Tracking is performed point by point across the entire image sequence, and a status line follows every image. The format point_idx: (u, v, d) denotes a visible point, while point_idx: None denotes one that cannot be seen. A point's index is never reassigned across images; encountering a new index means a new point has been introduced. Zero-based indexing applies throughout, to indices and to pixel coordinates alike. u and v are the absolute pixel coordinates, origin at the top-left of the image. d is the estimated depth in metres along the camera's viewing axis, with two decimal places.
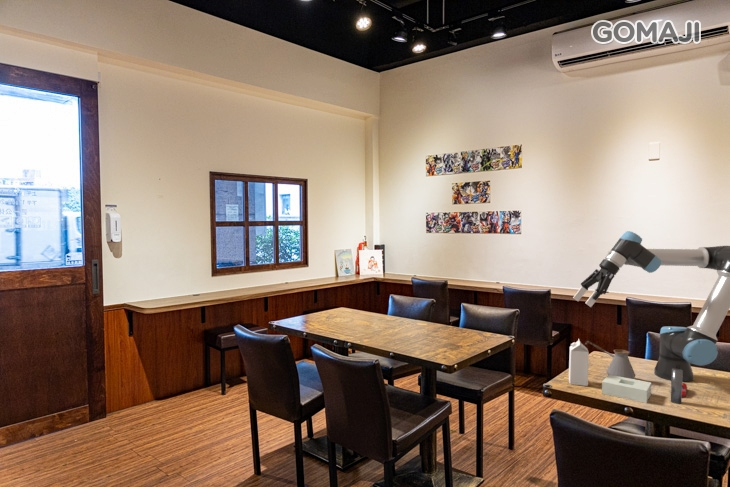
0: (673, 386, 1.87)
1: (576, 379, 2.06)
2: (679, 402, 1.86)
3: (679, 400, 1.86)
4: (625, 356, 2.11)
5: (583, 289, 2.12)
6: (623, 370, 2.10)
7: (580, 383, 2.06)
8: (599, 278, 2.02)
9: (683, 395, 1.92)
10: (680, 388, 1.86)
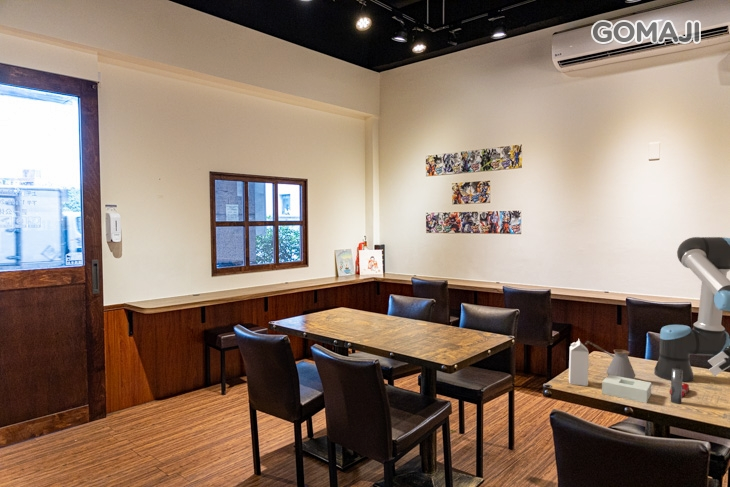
0: (673, 386, 1.87)
1: (576, 379, 2.06)
2: (679, 402, 1.86)
3: (679, 400, 1.86)
4: (625, 356, 2.11)
5: None
6: (623, 370, 2.10)
7: (580, 383, 2.06)
8: None
9: None
10: (680, 388, 1.86)
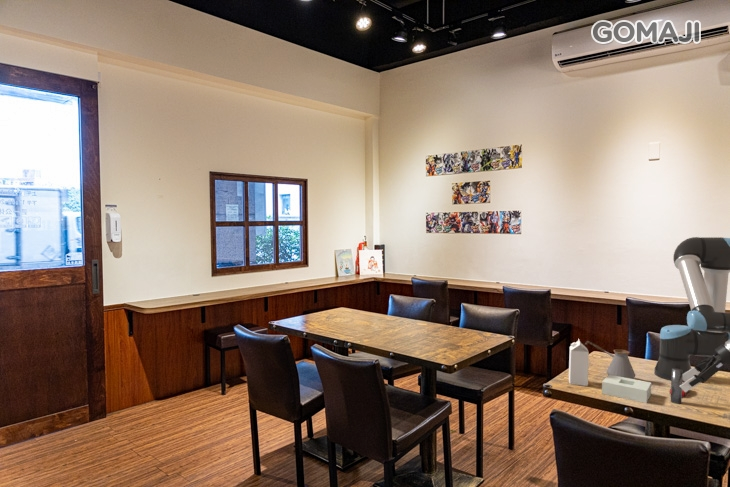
0: (673, 386, 1.87)
1: (576, 379, 2.06)
2: (679, 402, 1.86)
3: (679, 400, 1.86)
4: (625, 356, 2.11)
5: None
6: (623, 370, 2.10)
7: (580, 383, 2.06)
8: None
9: None
10: (680, 388, 1.86)
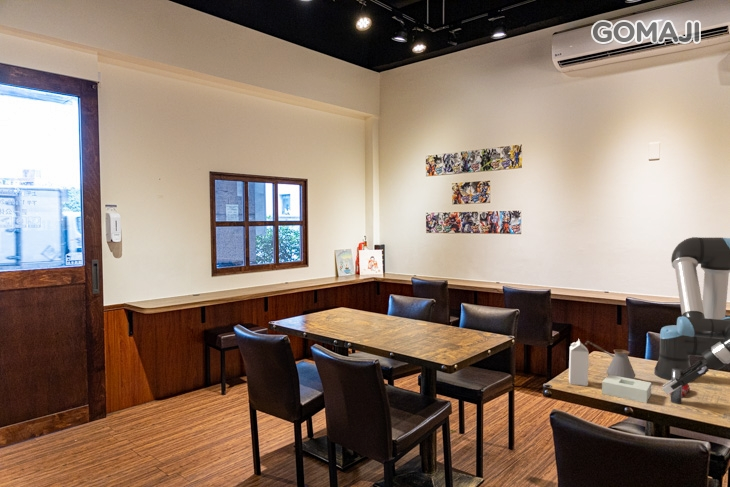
0: None
1: (576, 379, 2.06)
2: (679, 402, 1.86)
3: (679, 400, 1.86)
4: (625, 356, 2.11)
5: None
6: (623, 370, 2.10)
7: (580, 383, 2.06)
8: None
9: None
10: (680, 388, 1.86)
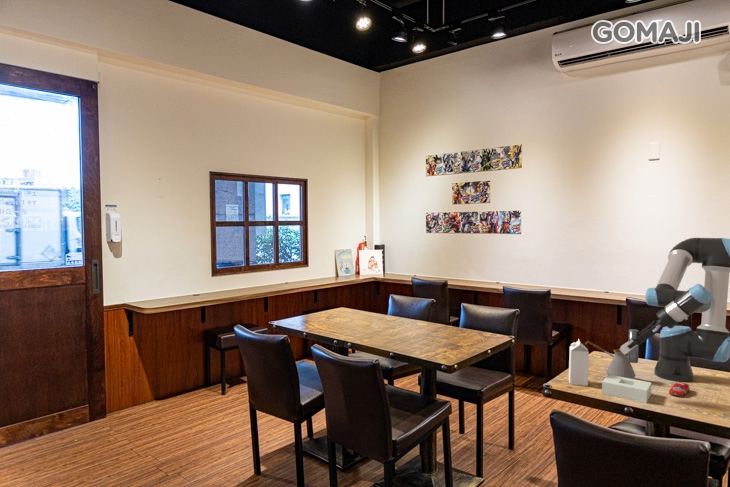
0: None
1: (576, 379, 2.06)
2: (636, 361, 1.92)
3: (636, 359, 1.92)
4: (625, 356, 2.11)
5: None
6: (623, 370, 2.10)
7: (580, 383, 2.06)
8: None
9: (681, 395, 1.93)
10: (636, 348, 1.92)
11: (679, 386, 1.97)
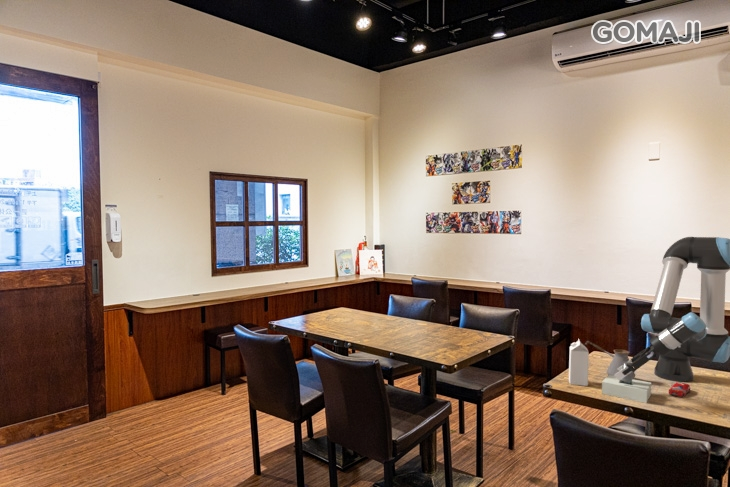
0: (623, 379, 1.95)
1: (576, 379, 2.06)
2: None
3: None
4: (625, 356, 2.11)
5: None
6: None
7: (580, 383, 2.06)
8: None
9: (680, 395, 1.93)
10: (630, 380, 1.94)
11: (679, 386, 1.96)
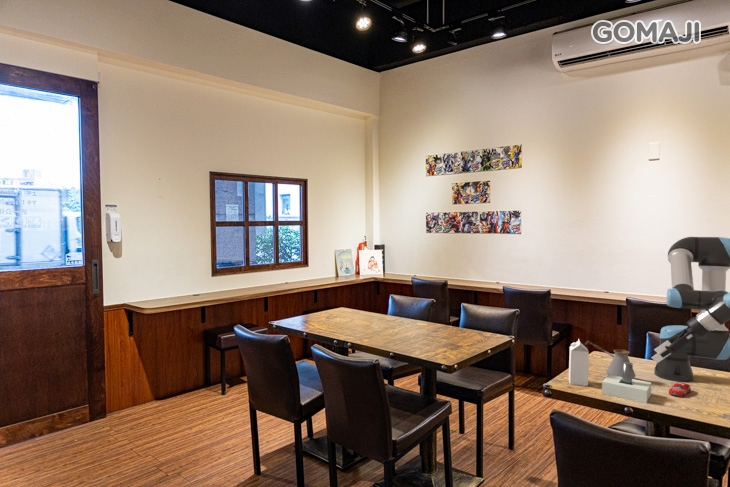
0: (623, 379, 1.95)
1: (576, 379, 2.06)
2: None
3: None
4: (625, 356, 2.11)
5: None
6: None
7: (580, 383, 2.06)
8: None
9: (680, 395, 1.93)
10: (630, 381, 1.94)
11: (679, 386, 1.96)
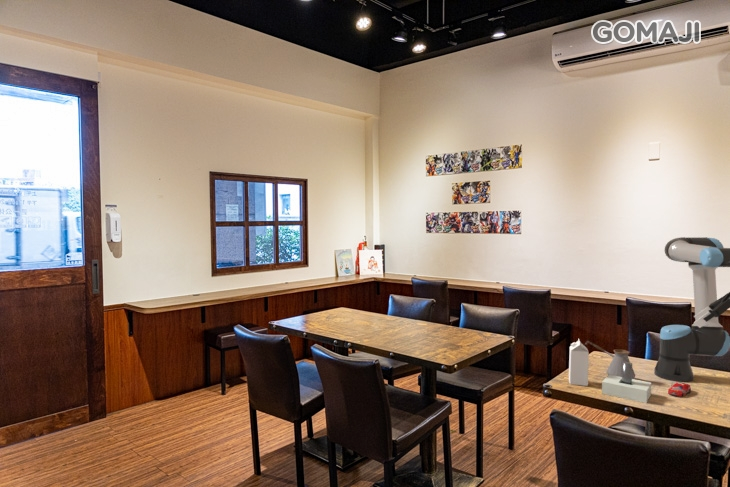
0: (623, 379, 1.95)
1: (576, 379, 2.06)
2: None
3: None
4: (625, 356, 2.11)
5: None
6: None
7: (580, 383, 2.06)
8: None
9: (679, 395, 1.93)
10: (630, 381, 1.94)
11: (679, 386, 1.96)
